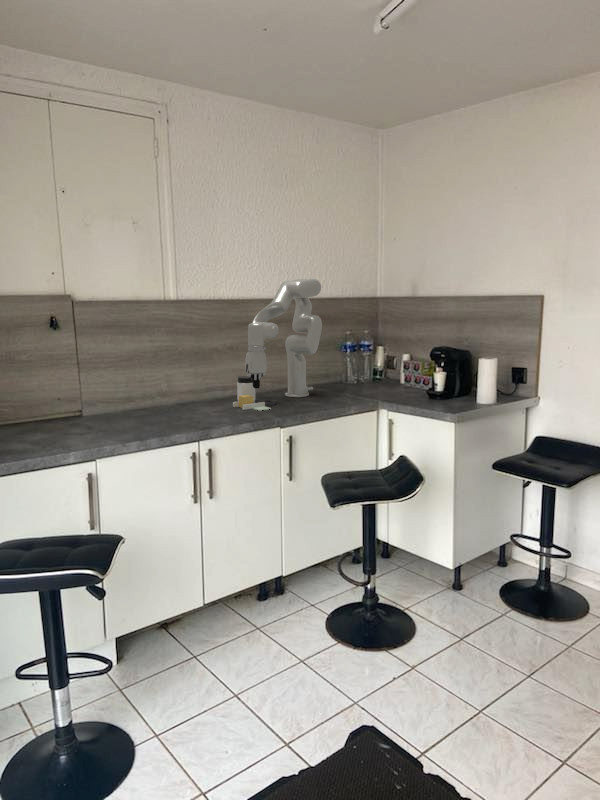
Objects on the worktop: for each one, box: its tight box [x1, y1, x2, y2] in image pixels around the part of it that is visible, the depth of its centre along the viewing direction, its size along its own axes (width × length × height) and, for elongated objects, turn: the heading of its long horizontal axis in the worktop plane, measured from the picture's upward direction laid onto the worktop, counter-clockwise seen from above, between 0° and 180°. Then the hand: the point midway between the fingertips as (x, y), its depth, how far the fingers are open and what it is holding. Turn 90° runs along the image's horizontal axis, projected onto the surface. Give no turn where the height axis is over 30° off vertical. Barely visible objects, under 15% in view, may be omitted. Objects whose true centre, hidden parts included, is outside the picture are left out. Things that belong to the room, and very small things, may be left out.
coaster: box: [251, 406, 272, 412], centre depth 267 cm, size 6×6×1 cm
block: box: [238, 395, 253, 409], centre depth 272 cm, size 5×5×6 cm
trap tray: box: [255, 399, 277, 407], centre depth 279 cm, size 7×8×1 cm
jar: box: [236, 375, 256, 402], centre depth 287 cm, size 9×8×12 cm
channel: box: [232, 398, 266, 411], centre depth 273 cm, size 12×10×2 cm
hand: (256, 387), depth 274 cm, fingers closed
